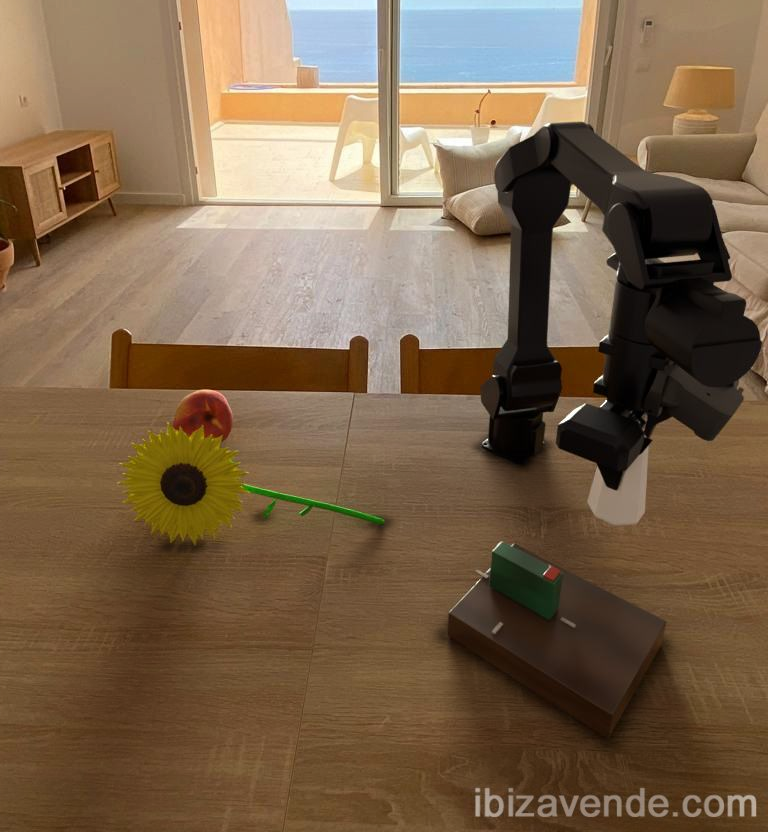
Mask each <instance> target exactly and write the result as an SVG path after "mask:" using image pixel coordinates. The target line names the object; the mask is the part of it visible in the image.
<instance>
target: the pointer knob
mask: <svg viewBox="0 0 768 832" xmlns="http://www.w3.org/2000/svg"><path fill="white" fill-rule="evenodd" d="M490 562H491V563H490V568H491V573H490V587H491V588H493V589H495V590H497V591H498V592H500V593H502V594H504V595H505V596H507V597H509V598H511V599H512V600H514V601H516V602H518V603H519V604H521V605H523V606H525V607H526V608H528V609H530V610H532V611H534V612H535V613H537V614H539V615H541V616H542V617H544V618H546V619H548V620H550V619H551V618H552V617H553V615H554V614H555V613H556V612H557V610H558V608H559V601H560V593H561V586H562V578H563V573H562V572H561V571H560V570H558V569H557V568H555V567H553V566H549V565H547V564H545V563H543V562H541V561H539V560H537V559H535V558H533V557H531V556H529V555H527V554H525V553H524V552H522V551H520V550H518V549H516V548H514V547H512V545H511V544H508V543H506V542H504V541H500V542H499V543H498V544H497V545H496V547H495V548H494V549H492V551H491V561H490Z"/></svg>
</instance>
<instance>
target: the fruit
mask: <svg viewBox="0 0 768 832" xmlns="http://www.w3.org/2000/svg"><path fill="white" fill-rule="evenodd" d="M202 425H203V427H204V439H205V438H207V437H209V436H211V435H212V434H213V437H212V439H214V438H218V437H220V436H222V435H223V437H222V440H221V443H220V444H222V443H223V442H224V441H225V440H226V439H227V438H228V437H229V435H230V433H231V432H232V429H233V425H234V416H233V412H232V409H231V407H230V405H229V402H228V400H227V399H226V397H225V396H224V395H223V394H222V393H220V392H219V391H216V390H213V389H199V390H196V391H194V392H192V393H189V394H188V395H186V396H185V397H184V398H182V400H181V401H180V402H179V404H178V406H177V408H176V410H175V413H174V418H173V422H172V428H174V429H175V430H177V431H179V428H180V426H181V428H182V430H183V431H184V433H185V434H186V435H188V437H190V436H191V434H192V433H193V432H195V431H197V430H198V429H200V428H201V427H202Z"/></svg>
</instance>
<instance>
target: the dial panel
mask: <svg viewBox="0 0 768 832" xmlns="http://www.w3.org/2000/svg"><path fill="white" fill-rule="evenodd" d="M511 546H512V547H514V548H516V549H518V550H520V551H522V552H524V553H525V554H527V555H529V556H531V557H533V558H535V559H537V560H539V561H541V562H543V563H545V564H547V565H549V566H553V567H555V568H557V569H558V570H560V571H561V572H562V573H563V578H562V586H561V593H560V601H559V608H558V610H557V612H556V613H555V614H554V615H553V617H552V618H551V619H550V620H548V619H546V618H544V617H542V616H541V615H539V614H537V613H535V612H534V611H532V610H530V609H528V608H526V607H525V606H523V605H521V604H519V603H518V602H516V601H514V600H512V599H511V598H509V597H507V596H505V595H504V594H502V593H500V592H498V591H497V590H495V589H493V588H491V587H490V573H491V567H490V568H489V569H488V570H487V571H486V572H483V571H481V570H479V569H476V570H475V571H474V573H475V574H477V575H479V576H480V577H481V578H480V579H479V580H478V581H477V582H476V583H475V584H474V585H473V586H472V587H471V588H470V589H469V590H468V592H466V594H465V595H464V596H463V597H462V598H461V599H460V600H459V601H458V602H457V603H456V605H454V606H453V607H452V609H451V610H450V611H449V612H448V618H447V636H448V637H449V638H451V639H452V640H454V641H455V642H457V643H458V644H460V645H461V646H462V647H465V648H466V649H468V651H471V652H472V653H473V654H474V655H477V656H478V657H479V658H482V659H483V660H484V661H486V662H488V663H489V664H491V665H492V666H494V667H496V668H497V669H498V670H499V671H502V672H503V673H504V674H506V675H508V676H509V677H510V678H512V679H514V680H516V681H518V683H520V684H522V685H523V686H525V687H526V688H527V689H529V690H531V691H533V692H534V693H536V694H537V695H538V696H540V697H541V698H543V699H545V700H547V701H548V702H549V703H551V704H553V705H554V706H555V707H557V708H559V709H560V710H562V711H563V712H565V713H567V714H568V715H570V716H571V717H573V718H574V719H575V720H578V721H579V722H581V723H582V724H584V725H585V726H587V727H588V728H590V729H591V730H593V731H594V732H596V733H597V734H599V735H601V736H602V737H604V738H605V739H607V740H608V739H609V738H610V736H611V735H612V733H613V731H614V730H615V727H616V726H617V724H618V722H619V720H620V719H621V717H622V716H623V713H624V711H625V709H626V708H627V706H628V704H629V703H630V701H631V699H632V698H633V696H634V694H635V692H636V690H637V689H638V687H639V685H640V683H641V682H642V680H643V678H644V676H645V674H646V673H647V671H648V669H649V667H650V666H651V664H652V662H653V661H654V658H655V657H656V655H657V654H658V652H659V650H660V648H661V646H662V643H663V640H664V634H665V631H666V625H667V621H666V620H664V619H663V618H661V617H659V616H657V615H655V614H653V613H651V612H649V611H647V610H645V609H643V608H641V607H639V606H637V605H635V604H634V603H632V602H630V601H628V600H626V599H624V598H622V597H620V596H619V595H617V594H614V593H612V592H610V591H609V590H607V589H604V588H602V587H601V586H599V585H597V584H595V583H594V582H593V583H592V582H591V581H589V580H587V579H585V578H583V577H581V576H579V575H577V574H576V573H574V572H571V571H570V570H568V569H566V568H564V567H562V566H561V565H558V564H556V563H554V562H552V561H550V560H549V559H547V558H544V557H542V556H541V555H539V554H537V553H535V552H533V551H531V550H529V549H527V548H525V547H523V546H521V545H519V544H518V543H515V542H514V543H513V544H512V545H511Z"/></svg>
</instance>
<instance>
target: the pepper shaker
mask: <svg viewBox="0 0 768 832" xmlns="http://www.w3.org/2000/svg"><path fill="white" fill-rule="evenodd" d="M647 418H648V417H647V414H646V415H645V416H644V417H643V418H642V419H644V420H645V421H647ZM644 430H645V428H644V429H643V431H644ZM644 437H646V436H644ZM646 438H647V437H646ZM649 447H650V445H649V446H648V447H647V448H646V449H645V450H644V452H643V453H642V454H640V455H639V456H638V457H637V458H636V459H635V461H634V462H633V463H632V464H631V466H630V467H629V468H628V469H627V470H626V472H625V474H624V477H623V479H622V481H621V483H620V486H619V488H618V490H613V489H610V488H608V487H607V486H606V485H605V482H604V480H603V478H602V475H601V473H600V471H599V468H598V466H597V465H596V470H595V473H594V476H593V479H592V482H591V486H590V491H589V493H588V498H587V500H586V503H587V505H588V506H589V509H590V510H591V512H592V514H593V515H594V518H597V519H600V520H601V521H603V522H606V523H608V524H611V525H613V526H632V525H633V526H634V525H637V524H638V523H639V521H640V520H641V519H642V517H643V516H644V515H645V513H646V499H647V483H648V482H647V481H648V466H649V465H648V463H649V449H650V448H649Z"/></svg>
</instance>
